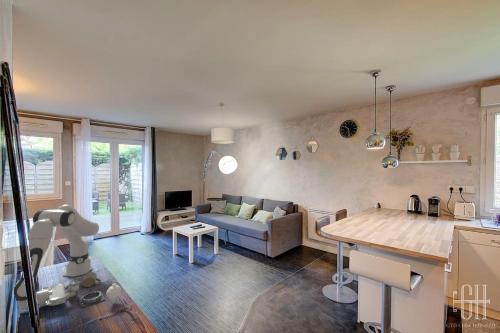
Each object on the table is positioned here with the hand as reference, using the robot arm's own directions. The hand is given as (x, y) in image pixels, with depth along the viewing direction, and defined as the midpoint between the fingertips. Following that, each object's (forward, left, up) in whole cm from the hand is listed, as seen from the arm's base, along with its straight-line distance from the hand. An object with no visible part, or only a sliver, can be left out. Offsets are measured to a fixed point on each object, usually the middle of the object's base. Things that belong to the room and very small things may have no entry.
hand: (74, 289), depth 142 cm
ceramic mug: (-13, +11, -6) cm, 18 cm away
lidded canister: (0, 0, -6) cm, 6 cm away
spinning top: (+22, +17, -6) cm, 28 cm away
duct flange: (+9, +8, -5) cm, 13 cm away
